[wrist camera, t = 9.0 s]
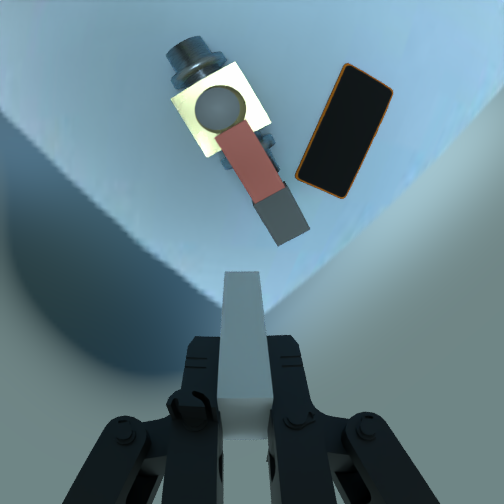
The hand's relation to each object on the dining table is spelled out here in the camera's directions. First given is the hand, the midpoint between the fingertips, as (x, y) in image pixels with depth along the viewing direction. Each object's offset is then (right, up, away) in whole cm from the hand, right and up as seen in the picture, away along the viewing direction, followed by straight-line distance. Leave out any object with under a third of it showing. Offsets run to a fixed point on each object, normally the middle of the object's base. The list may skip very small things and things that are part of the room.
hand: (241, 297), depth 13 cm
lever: (0, +11, +14) cm, 17 cm away
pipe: (-3, +19, +18) cm, 26 cm away
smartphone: (+12, +17, +20) cm, 29 cm away
